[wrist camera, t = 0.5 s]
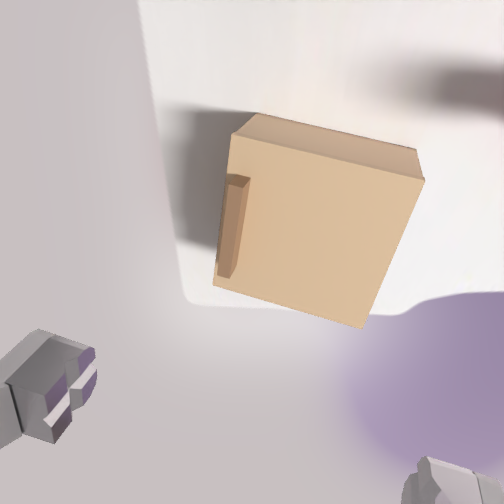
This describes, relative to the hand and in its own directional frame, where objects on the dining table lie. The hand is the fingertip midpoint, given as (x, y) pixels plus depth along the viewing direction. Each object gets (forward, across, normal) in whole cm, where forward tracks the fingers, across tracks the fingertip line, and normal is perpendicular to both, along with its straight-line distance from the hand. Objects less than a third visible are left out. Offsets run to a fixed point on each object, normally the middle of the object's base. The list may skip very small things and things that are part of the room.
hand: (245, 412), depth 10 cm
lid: (+35, +1, +15) cm, 38 cm away
